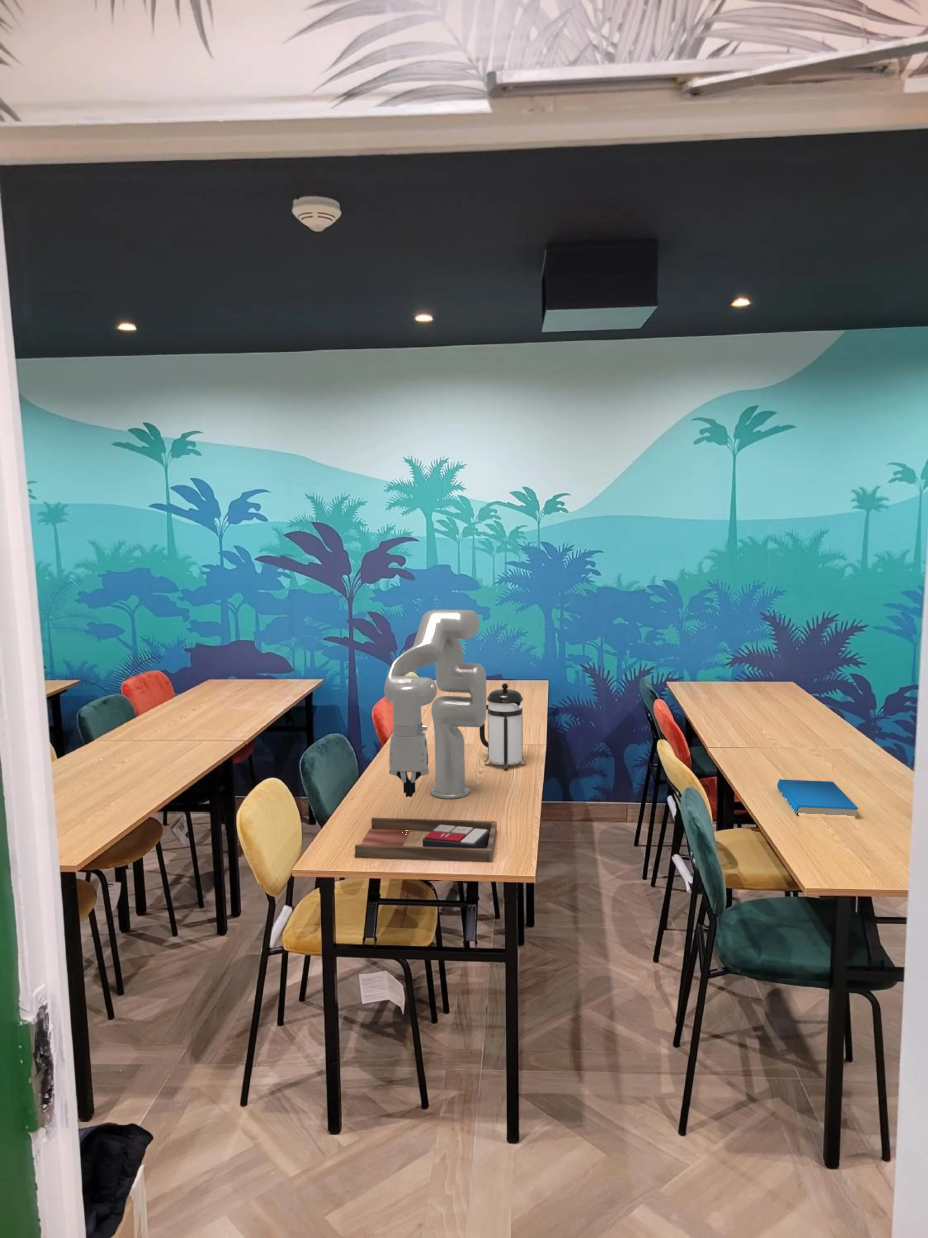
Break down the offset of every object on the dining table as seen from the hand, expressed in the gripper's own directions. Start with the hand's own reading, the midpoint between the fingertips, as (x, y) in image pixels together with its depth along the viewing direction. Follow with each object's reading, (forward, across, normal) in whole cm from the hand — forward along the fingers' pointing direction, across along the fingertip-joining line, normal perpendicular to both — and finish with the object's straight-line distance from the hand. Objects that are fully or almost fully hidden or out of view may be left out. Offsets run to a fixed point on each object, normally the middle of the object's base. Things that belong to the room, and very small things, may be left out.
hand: (409, 795), depth 213 cm
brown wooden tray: (+13, -5, +2) cm, 14 cm away
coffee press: (+17, -21, -74) cm, 79 cm away
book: (+16, -119, -40) cm, 126 cm away
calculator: (+13, -13, +3) cm, 19 cm away
